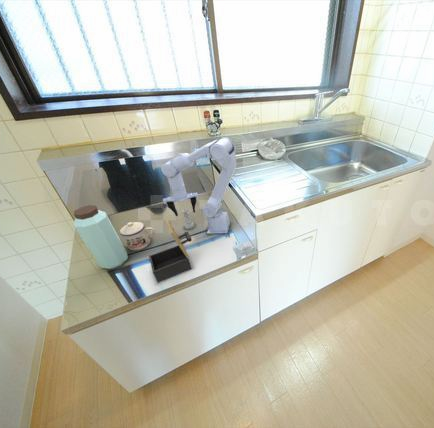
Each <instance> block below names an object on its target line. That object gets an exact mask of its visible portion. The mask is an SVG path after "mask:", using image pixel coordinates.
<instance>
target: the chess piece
mask: <svg viewBox="0 0 434 428" xmlns="http://www.w3.org/2000/svg"><path fill="white" fill-rule="evenodd" d="M188 211H189V210H188V209H183V210H182V211H181V213H183V217H184V218H185V222H184V228H185V229H186V230H191V229H194V228H195V223H194V222H193V221H192V220H191V219H190V217H189V216H190V214H189V213H188Z"/></svg>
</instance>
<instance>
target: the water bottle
mask: <svg viewBox="0 0 434 428" xmlns="http://www.w3.org/2000/svg"><path fill="white" fill-rule="evenodd" d="M73 216H74V217H75V218H74V221H73V227H74V229H75V231H76V232H77V233H78V235H79V236H80V238H81V239H82V241H83V243H84V244H85V246H86V247H87V249H88V250H89V252H90V254H91V255H92V257H93V258H94V259H95V262H96V263H97V264H98V265H99V267H100V268H102V269H107V270H114V269H117V268H119V267H121V266H123V264H124V263H125V262H127V261H128V259H129V255H128V251H127V249H126V248H125V246H124V244H123V242H122V240H121V239H120V237H119V235H118V233H117V230H116V229H115V227H114V226H113V225H114V224H113V223H112V221H111V220H110V218H109V216H108V214H107V212H105V211H102V210H100V209H98V207H97V205H94V204H93V205H91V204H88V205H84V206H81V207H79V208H76V209H75V210H74V211H73Z"/></svg>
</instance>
